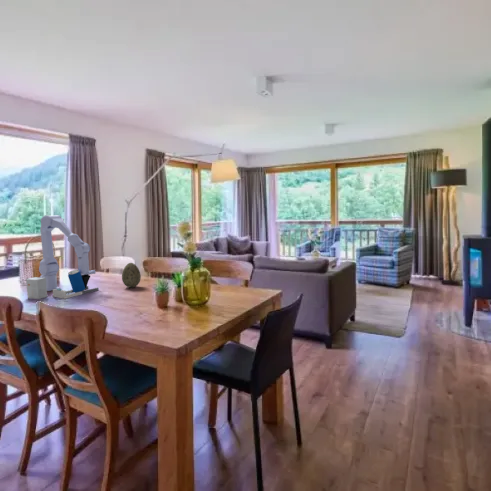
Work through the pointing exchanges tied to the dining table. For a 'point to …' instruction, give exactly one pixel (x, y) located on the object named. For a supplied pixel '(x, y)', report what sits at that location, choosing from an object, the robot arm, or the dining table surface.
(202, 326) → the dining table surface
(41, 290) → the small box
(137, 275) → the decorative egg
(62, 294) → the dock
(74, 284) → the beverage can
